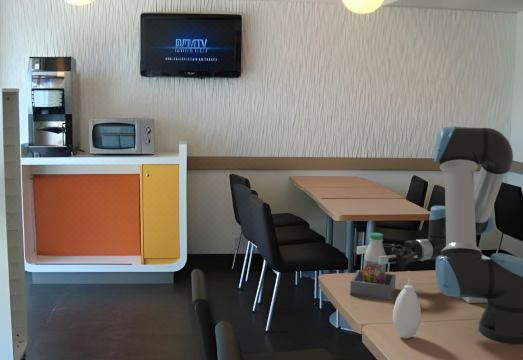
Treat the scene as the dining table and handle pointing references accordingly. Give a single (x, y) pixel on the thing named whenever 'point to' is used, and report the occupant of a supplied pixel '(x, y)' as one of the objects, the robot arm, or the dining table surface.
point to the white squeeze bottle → (407, 312)
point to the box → (372, 287)
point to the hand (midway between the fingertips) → (367, 255)
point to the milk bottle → (374, 260)
